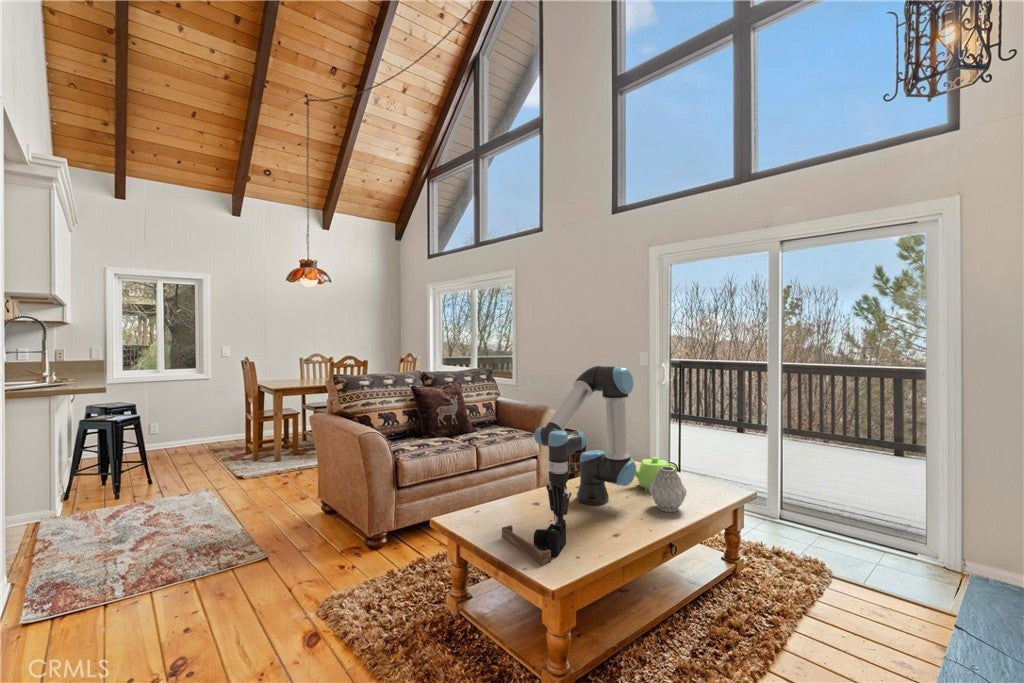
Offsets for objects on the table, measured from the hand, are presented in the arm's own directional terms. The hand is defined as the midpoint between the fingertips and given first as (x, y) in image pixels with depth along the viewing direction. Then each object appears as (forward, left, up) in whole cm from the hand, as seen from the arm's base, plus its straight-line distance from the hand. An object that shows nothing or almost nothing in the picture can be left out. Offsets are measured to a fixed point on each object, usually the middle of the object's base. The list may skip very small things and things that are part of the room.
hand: (558, 530), depth 184 cm
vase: (-60, +4, -3) cm, 60 cm away
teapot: (-78, -21, -3) cm, 80 cm away
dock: (+16, 0, -3) cm, 16 cm away
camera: (+8, +4, -3) cm, 9 cm away
